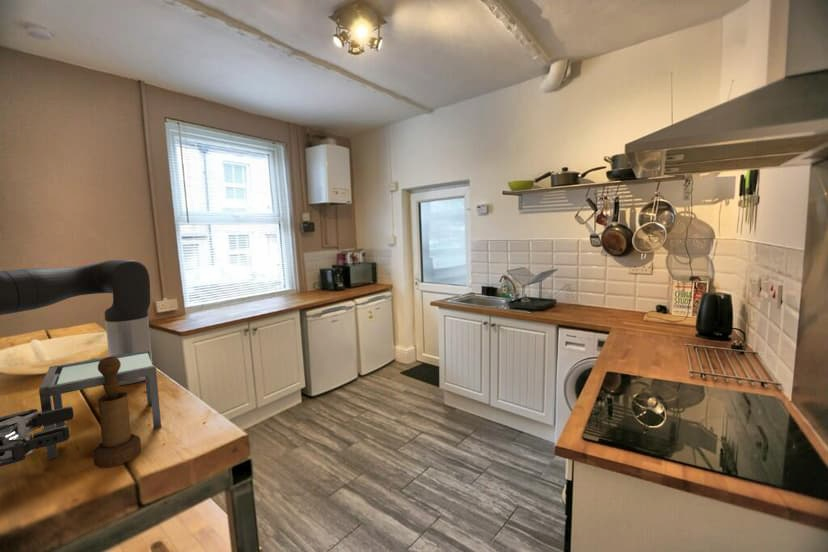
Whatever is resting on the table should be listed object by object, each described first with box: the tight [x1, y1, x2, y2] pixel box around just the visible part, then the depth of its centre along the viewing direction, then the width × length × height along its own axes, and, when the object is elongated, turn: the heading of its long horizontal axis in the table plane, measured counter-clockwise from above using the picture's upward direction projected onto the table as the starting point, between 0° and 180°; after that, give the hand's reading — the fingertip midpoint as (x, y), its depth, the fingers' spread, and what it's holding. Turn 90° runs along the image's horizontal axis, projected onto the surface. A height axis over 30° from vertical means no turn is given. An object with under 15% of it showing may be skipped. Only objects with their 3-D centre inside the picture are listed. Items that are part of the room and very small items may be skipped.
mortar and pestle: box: [92, 356, 142, 469], centre depth 63 cm, size 7×6×18 cm
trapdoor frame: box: [38, 350, 162, 461], centre depth 73 cm, size 15×16×13 cm
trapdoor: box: [57, 353, 153, 384], centre depth 73 cm, size 12×14×1 cm
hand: (71, 421), depth 59 cm, fingers open, 8 cm apart
